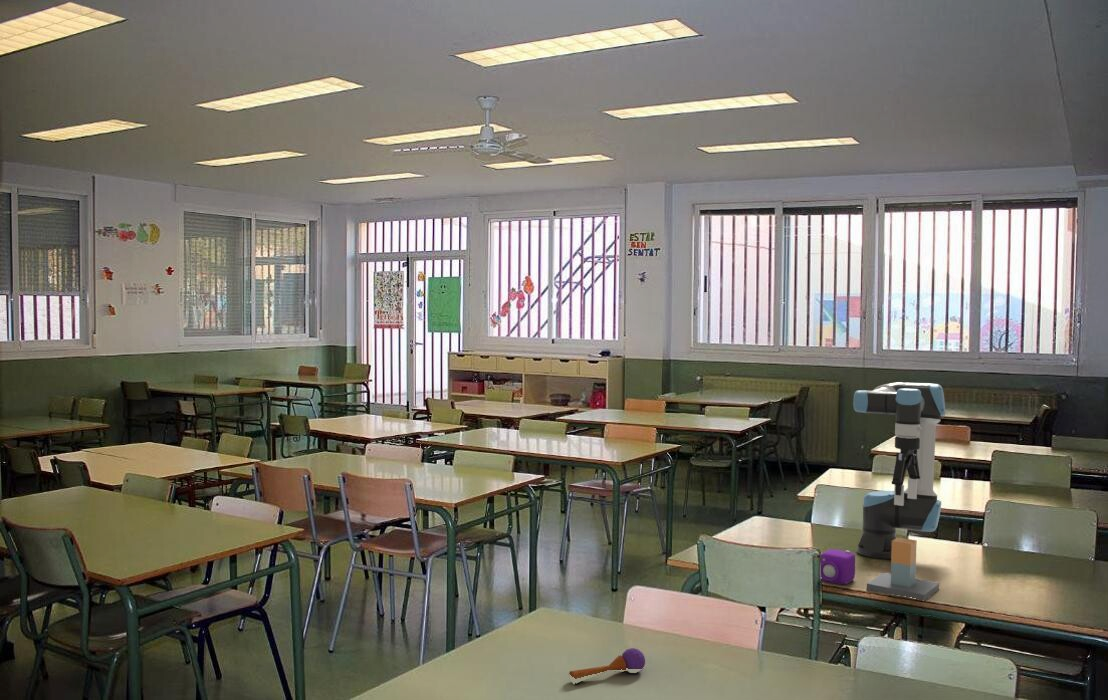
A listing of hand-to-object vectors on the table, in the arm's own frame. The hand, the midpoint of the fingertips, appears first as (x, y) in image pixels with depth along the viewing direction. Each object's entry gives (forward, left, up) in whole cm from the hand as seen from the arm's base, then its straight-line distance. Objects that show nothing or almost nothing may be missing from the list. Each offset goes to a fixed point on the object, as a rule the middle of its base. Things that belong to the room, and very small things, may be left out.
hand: (905, 501), depth 290 cm
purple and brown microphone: (-33, -120, -29) cm, 128 cm away
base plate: (0, 0, -29) cm, 29 cm away
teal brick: (0, 0, -27) cm, 27 cm away
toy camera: (-20, -6, -29) cm, 36 cm away
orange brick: (0, 0, -20) cm, 20 cm away
